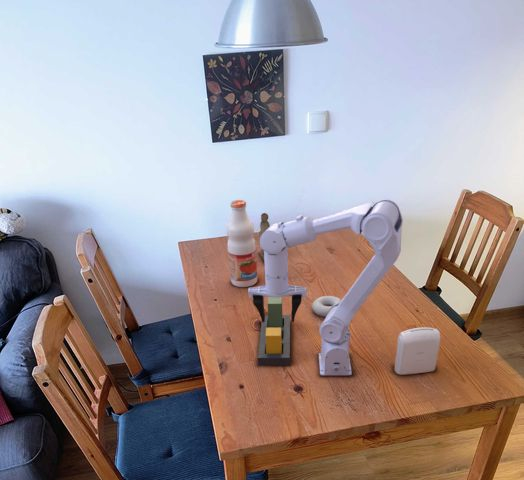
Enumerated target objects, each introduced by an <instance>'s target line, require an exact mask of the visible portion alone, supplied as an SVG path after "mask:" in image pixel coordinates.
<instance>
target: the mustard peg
mask: <svg viewBox="0 0 524 480" xmlns="http://www.w3.org/2000/svg"><path fill="white" fill-rule="evenodd" d="M282 340H283V338H282V336H281V327H278V328H266V354H283V351H282Z"/></svg>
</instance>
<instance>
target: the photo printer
mask: <svg viewBox="0 0 524 480" xmlns="http://www.w3.org/2000/svg"><path fill="white" fill-rule="evenodd" d="M396 344H397V345H396V351H395V361H394V372H395V373H396V374H397V375H400V376H402V375H416V374H423V373H430V372H434V371H435V369H436V365H437V359H438V356H439V355H438V354H439V349H440V344H441V333H440V331H439V329H438V328H434V327H426V326H424V327H414V328H409V329H407V330H404V331H401V332H399V334H398V336H397V343H396Z"/></svg>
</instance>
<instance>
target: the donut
mask: <svg viewBox="0 0 524 480" xmlns="http://www.w3.org/2000/svg"><path fill="white" fill-rule="evenodd" d="M341 299H342V298H340V297H338V296H335V295H324V296H320V297H318V298H316V299H314V301H313V303H312V311H313V312H314V313H315V314H316V315H318V316H320V317H322V318H326V316H327V315H328V313H329V310H330V308H331V307H332V306H333V305H335V304H338V303H339V302H340V301H341Z"/></svg>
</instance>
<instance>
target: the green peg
mask: <svg viewBox="0 0 524 480" xmlns="http://www.w3.org/2000/svg"><path fill="white" fill-rule="evenodd" d="M267 315H268V327H284V325H283V315H284V313H283V297H278V298H275V297H268V296H267Z"/></svg>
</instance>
